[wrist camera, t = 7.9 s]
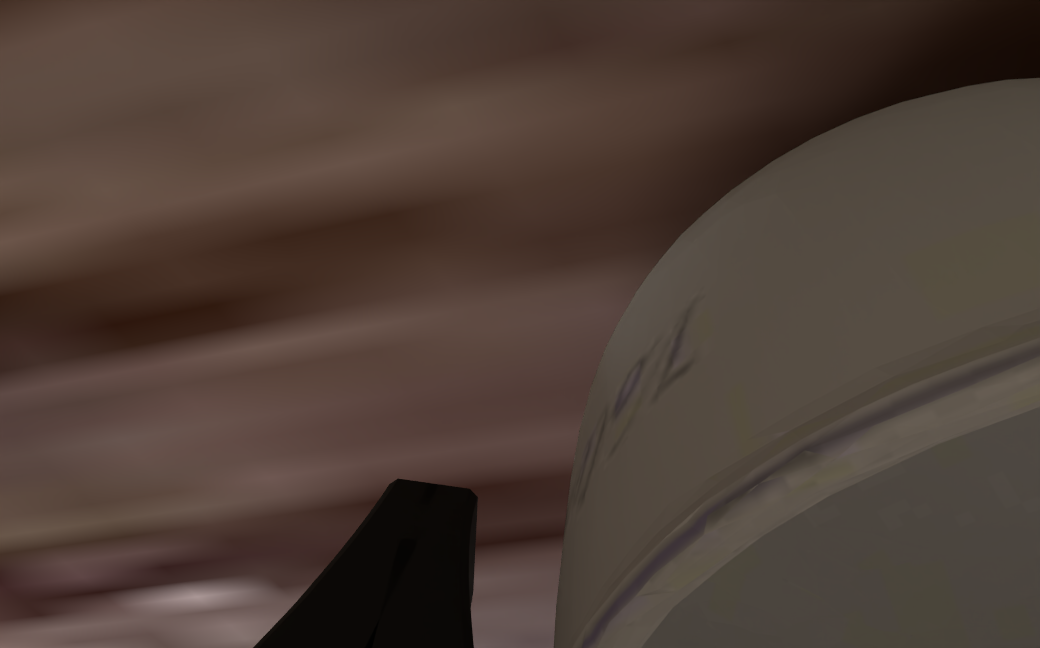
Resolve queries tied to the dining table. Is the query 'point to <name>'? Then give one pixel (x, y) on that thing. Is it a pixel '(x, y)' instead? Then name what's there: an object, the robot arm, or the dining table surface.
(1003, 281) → the teacup
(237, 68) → the dining table surface
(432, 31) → the dining table surface
